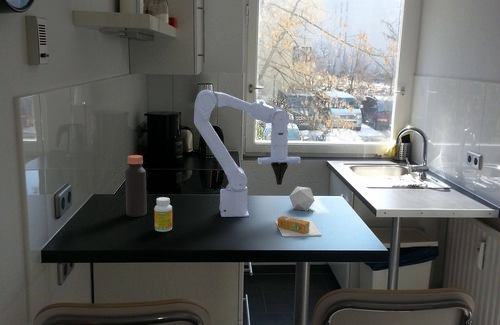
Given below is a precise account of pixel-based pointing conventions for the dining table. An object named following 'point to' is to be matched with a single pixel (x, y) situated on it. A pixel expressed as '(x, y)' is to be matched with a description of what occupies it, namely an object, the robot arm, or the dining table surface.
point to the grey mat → (312, 232)
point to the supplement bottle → (163, 215)
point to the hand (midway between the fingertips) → (279, 184)
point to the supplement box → (293, 224)
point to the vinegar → (135, 187)
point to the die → (302, 198)
